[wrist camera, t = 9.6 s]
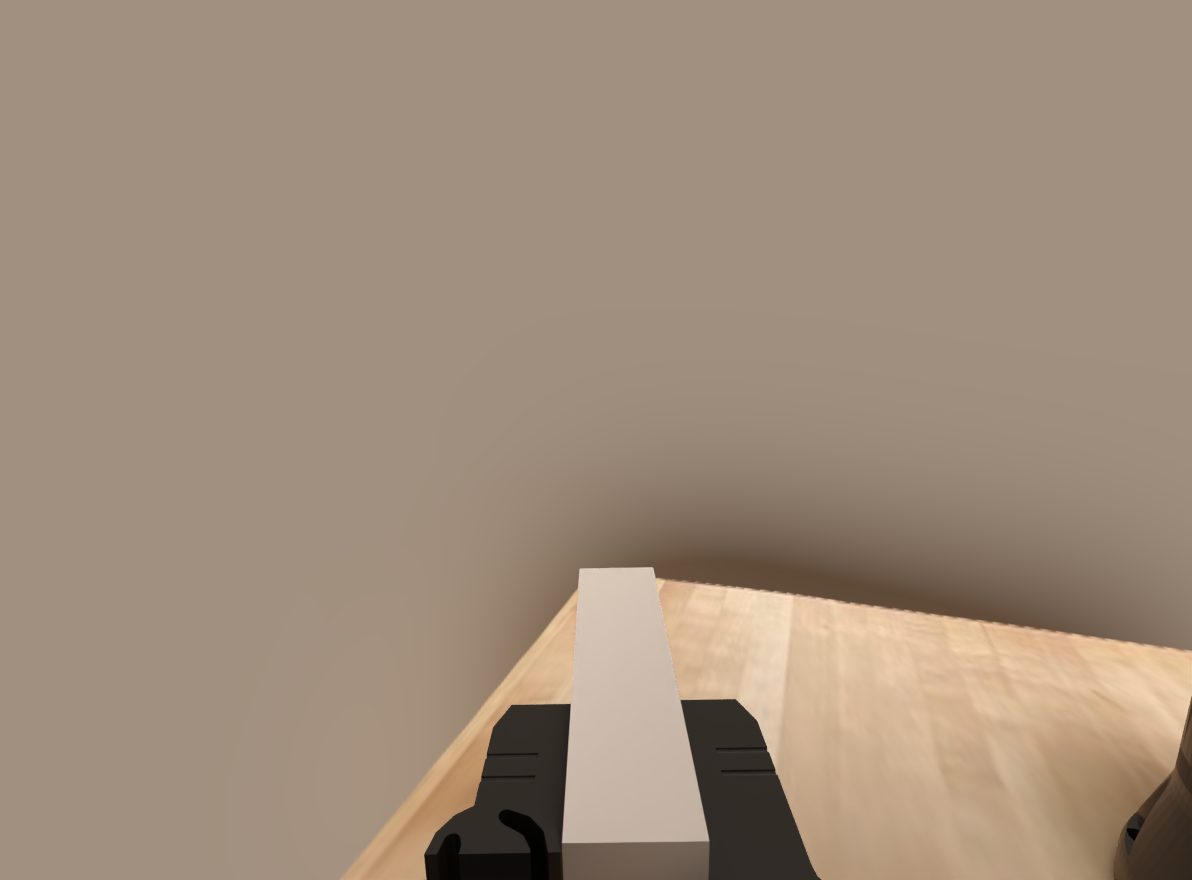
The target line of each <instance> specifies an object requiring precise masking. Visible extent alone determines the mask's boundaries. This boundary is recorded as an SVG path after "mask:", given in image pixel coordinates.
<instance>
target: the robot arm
mask: <svg viewBox="0 0 1192 880" xmlns="http://www.w3.org/2000/svg"><path fill="white" fill-rule="evenodd" d="M424 857H425V867H426V877H427V880H821V879H820V878H819V877H818V876H817V875H816V873H815V871H814V869H813V867H812V865H811V863H810V860H809V857H808V855H807V852H806V849H805V847H804V844H803V841H802V839H801V836H800V834H799V831H798V828H797V826H796V823H795V820H794V818H793V815H792V812H791V810H790V807H789V804H788V802H787V799H786V796H785V794H784V791H783V788H782V786H781V783H780V780H779V778H778V775H776V772H775V767H774V765H773V762H772V759H771V757H770V754H769V752H767V746H766V743H765V741H764V738H763V735H762V733H761V730H760V727H759V725H758V722H757V720H756V719H755V718H754V717H753V716H752V715H751V714H750V713H749V712H748V711H747V710H746V709H745V708H744V707H743V706H742V705H741V704H740V703H739V702H738V701H737V700H736V699H723V700H680V696H679V691H678V686H677V681H676V676H675V671H674V667H673V662H672V657H671V652H670V647H669V642H668V637H667V633H666V628H665V623H664V618H663V613H662V608H661V604H660V599H659V594H658V589H657V584H656V579H655V575H654V570H653V567H651V568H594V569H593V568H590V569H580V572H579V587H578V603H577V618H576V634H575V649H574V665H573V680H572V696H571V704H546V705H511V706H510V708H509V709H508V710H507V711H506V713H505V714H504V715H503V716H502V717H501V719H500V720H499V721H498V722H497V723H496V725H495V726H494V727H493V730H492V734H491V739H490V743H489V747H488V751H487V759H485V763H484V768H483V772H482V776H481V782H480V784H479V788H478V792H477V797H476V801H475V805H474V806H473V807H471V808H469V809H466V810H464V811H462V812H460V813H458V814H456V815H454V816H453V817H452V818H451V819H450V820H449V821H448V822H447V823H446V824H445V825H444V826H443V827H441V828H440V829H439V830H438V831H437V832H436V833H435V835H434V837H433V839H432V841H431V843H430V845H429V847H428V849H427V850H426V852H425V854H424ZM1114 877H1115V880H1192V697H1191V701H1190V705H1189V710H1188V714H1187V718H1186V722H1185V726H1184V731H1183V735H1182V739H1181V744H1180V749H1179V753H1178V758H1177V761H1176V765H1175V769H1174V770H1173V771H1172V772H1171V774H1170V775H1169V776H1168V777H1167V778H1166V779H1165V780H1164V781H1163V782H1162V784H1161V785H1160V786H1159V787H1158V788H1157V789H1156V790H1155V791H1154V792H1153V793H1152V795H1151V796H1150V797H1149V798H1148V799H1147V800H1146V801H1145V802H1144V804H1143V805H1142V806H1141V807H1140V808H1139V810H1138V811H1137V812H1136V813H1135V814H1134V815H1133V816H1132V817H1131V818H1130V819H1129V820H1128V822H1127V823H1126V824H1125V826H1124V828H1123V830H1122V832H1121V835H1120V839H1119V843H1118V848H1117V853H1116V858H1115V863H1114Z"/></svg>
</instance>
